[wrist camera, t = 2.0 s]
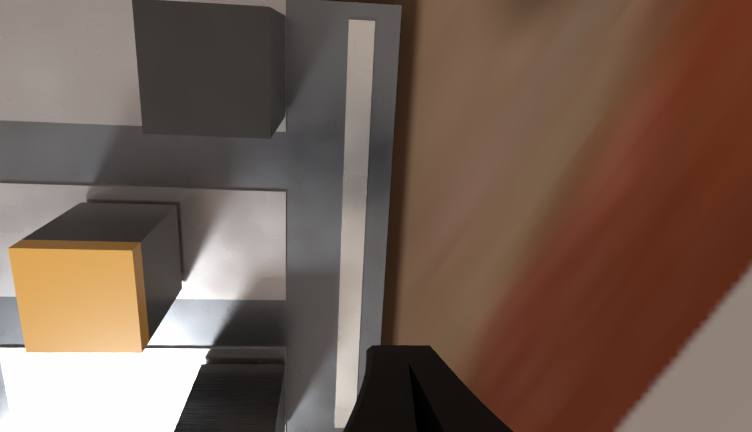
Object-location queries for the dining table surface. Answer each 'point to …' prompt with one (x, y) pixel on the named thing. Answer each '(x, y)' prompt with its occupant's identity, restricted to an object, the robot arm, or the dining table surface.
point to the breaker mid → (97, 278)
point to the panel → (206, 201)
